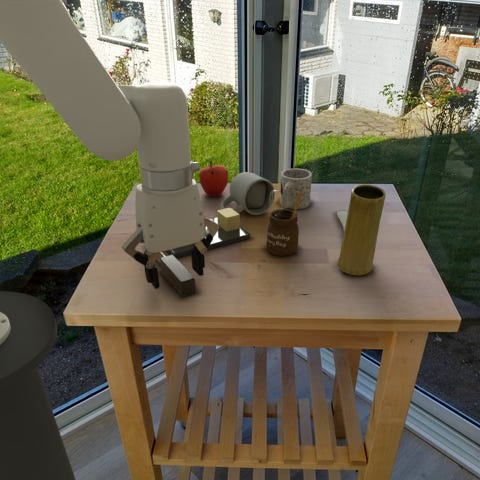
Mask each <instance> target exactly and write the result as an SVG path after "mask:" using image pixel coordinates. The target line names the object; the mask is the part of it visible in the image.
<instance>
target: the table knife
mask: <svg viewBox="0 0 480 480" xmlns="http://www.w3.org/2000/svg"><path fill="white" fill-rule="evenodd" d="M156 261H158V263H159V265H160V269H161V270H160V271H161V274H162V275H163V276H164V278H165V279H166V280H167V281H168V282H169V283H170V285H171V286H172V287H173V288H174V289H175V291H176V292H177V293H178V294H179V295H180V297H182V298H185V297H189V296H192V295H196V293H197V292H196V278H195V277H194V275H192V274H191V273H190V272H189V270H188V269H187V268H186V267H185V266H184V265H183V264H182V263H181V262H180V261H179V260H178V258H175V257H174V256H173V255H171V254H170V255H167V256H166V255H165V254H164V253H163V252H159V254H158V256H157V259H156Z"/></svg>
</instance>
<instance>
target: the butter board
mask: <svg viewBox="0 0 480 480" xmlns="http://www.w3.org/2000/svg"><path fill="white" fill-rule="evenodd" d="M209 219H210V220H212V221H214V222H216V223H217V224H218V222H217V217H213V218H209ZM206 230H207V227H206ZM250 238H251V233H250V232H248V231H247V230H246V229H244V228H243V226H240V229H236V230H232V231H228V232H226V231H225V230H224V229H223V228H222V227H220V228H219V230H218V231H217V233H216V235H215V236H214V237H213V241H212V242H211V244H210V245H209V246H208V248H207V251H208V250H211V249H215V248H219V247H223V246H226V245H230V244H234V243H238V242H241V241H242V242H243V241H245V240H249V239H250ZM193 247H194V246H193V244H190V245H186V246H182V247H179V248H175V249H171V250H167V252H168V253H169V254H170V255H173V256H174V257H175V258H176V259H178V258H182V257H185V256H188V255H189V256H190V255H191V250H192V248H193Z"/></svg>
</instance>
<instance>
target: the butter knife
mask: <svg viewBox="0 0 480 480" xmlns="http://www.w3.org/2000/svg"><path fill="white" fill-rule="evenodd" d="M336 215H337V218H338V219H339V221H340V223H341V225H342V228H343V232H344V231H345V225H346V220H347V215H348V211H346V210H340V211H337V214H336Z"/></svg>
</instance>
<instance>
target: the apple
mask: <svg viewBox="0 0 480 480" xmlns="http://www.w3.org/2000/svg"><path fill="white" fill-rule="evenodd" d="M214 160H215V154H212V155H211V156H210V157H206V158H205V159H204V161H206V162H209V165H208V166H205V167H202V168H200V170H199V173H198V180H199V183H200V186H201V188H202V190H203V191H204V193H205V195H207V196H208V197H221V195H222V194H223V192H224V191H225V189H226V187H227V186H228V182H229V171H228V170H227V168H226V167H225V166H224V165H223V164H213V161H214Z"/></svg>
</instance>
